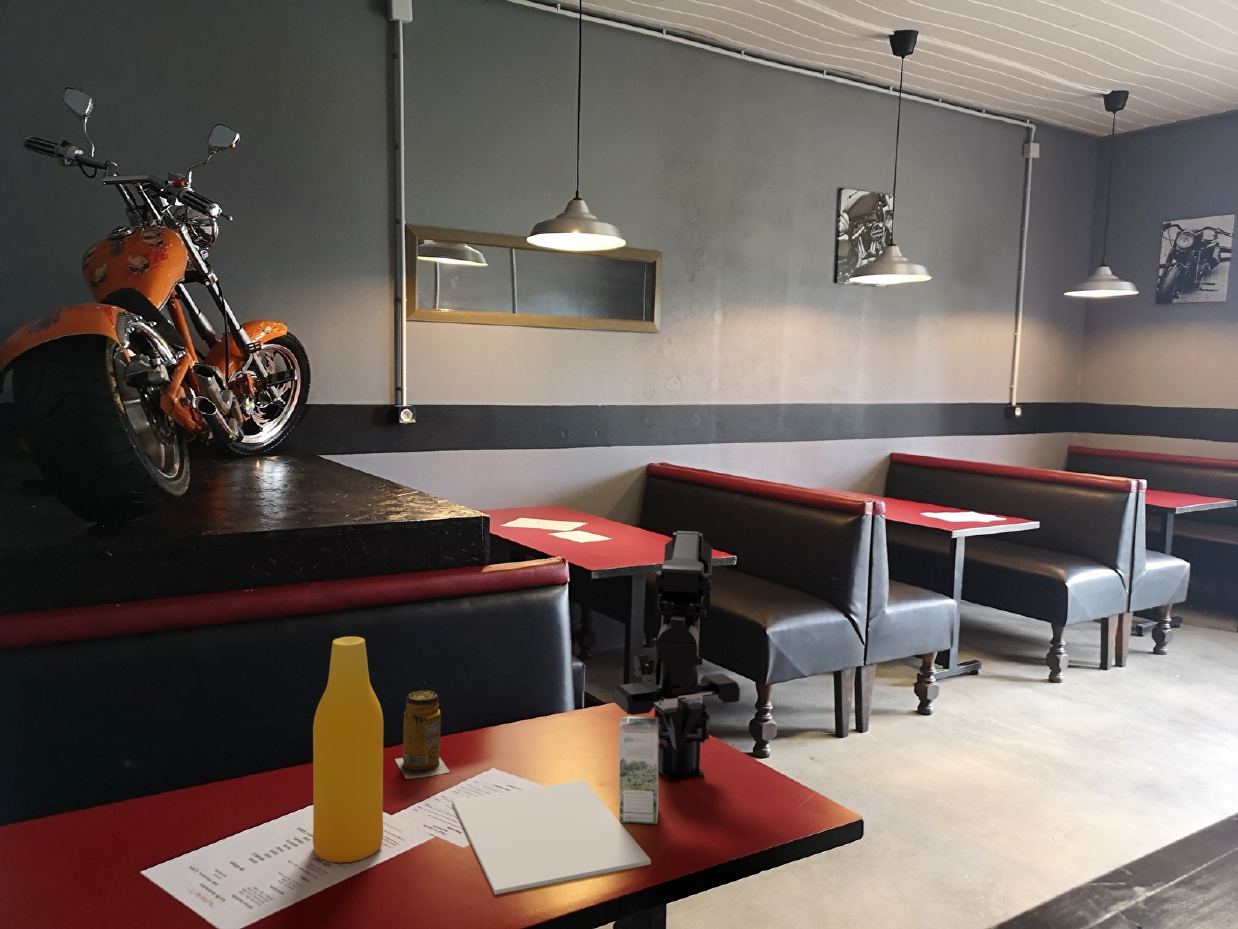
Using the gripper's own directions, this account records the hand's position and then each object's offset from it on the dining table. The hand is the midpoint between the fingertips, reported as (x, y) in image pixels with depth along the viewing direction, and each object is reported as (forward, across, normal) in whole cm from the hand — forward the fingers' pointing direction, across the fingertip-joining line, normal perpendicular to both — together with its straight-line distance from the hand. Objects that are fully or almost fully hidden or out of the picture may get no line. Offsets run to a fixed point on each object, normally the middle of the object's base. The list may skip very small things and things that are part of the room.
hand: (676, 748), depth 135 cm
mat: (+10, +21, 0) cm, 23 cm away
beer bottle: (+10, +47, -5) cm, 49 cm away
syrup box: (+10, +6, 0) cm, 11 cm away
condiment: (+10, +33, -28) cm, 45 cm away
